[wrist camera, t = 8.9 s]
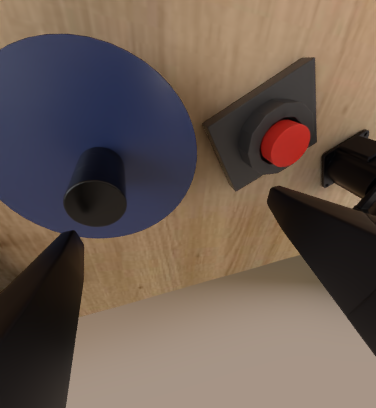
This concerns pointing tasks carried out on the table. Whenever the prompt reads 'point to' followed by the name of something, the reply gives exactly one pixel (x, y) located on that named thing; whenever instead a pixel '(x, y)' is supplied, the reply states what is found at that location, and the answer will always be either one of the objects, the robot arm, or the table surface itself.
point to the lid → (90, 137)
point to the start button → (285, 142)
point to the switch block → (262, 122)
